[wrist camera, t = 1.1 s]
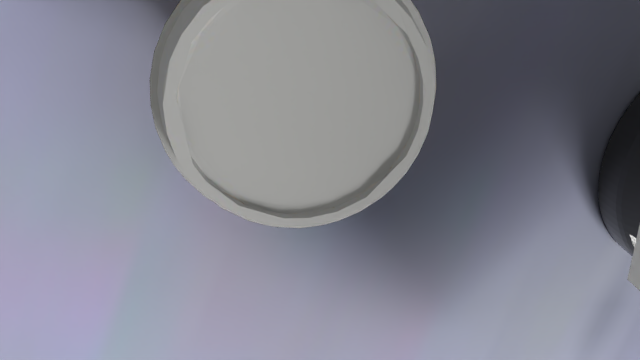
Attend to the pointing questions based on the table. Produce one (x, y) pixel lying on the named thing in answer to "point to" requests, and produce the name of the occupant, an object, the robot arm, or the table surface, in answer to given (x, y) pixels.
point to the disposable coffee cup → (293, 103)
